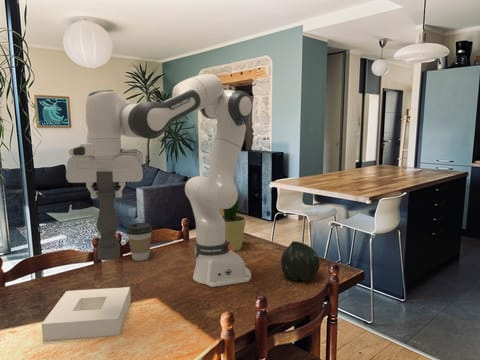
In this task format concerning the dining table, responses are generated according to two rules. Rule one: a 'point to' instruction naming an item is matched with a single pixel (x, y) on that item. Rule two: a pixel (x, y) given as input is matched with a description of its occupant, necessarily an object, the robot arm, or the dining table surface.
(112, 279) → the dining table surface
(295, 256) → the squash
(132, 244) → the coffee cup
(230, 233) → the potted cactus
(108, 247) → the candle holder
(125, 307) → the socket block
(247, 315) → the dining table surface
